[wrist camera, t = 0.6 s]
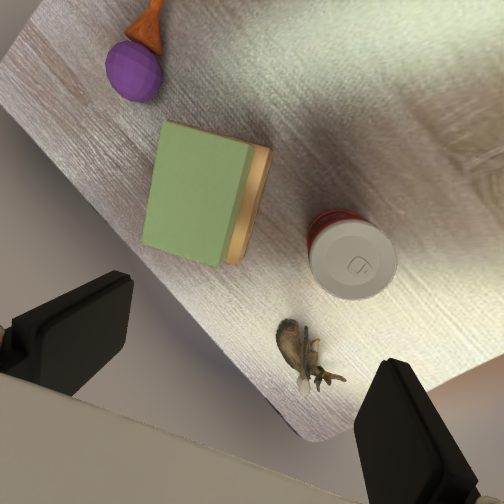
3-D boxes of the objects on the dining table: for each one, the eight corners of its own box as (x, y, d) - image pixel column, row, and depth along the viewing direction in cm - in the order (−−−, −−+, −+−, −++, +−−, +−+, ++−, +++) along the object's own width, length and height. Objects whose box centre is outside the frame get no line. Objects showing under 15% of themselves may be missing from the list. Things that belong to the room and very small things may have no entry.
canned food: (355, 276, 37) (376, 313, 27) (297, 255, 38) (296, 283, 27) (380, 221, 35) (414, 238, 25) (319, 200, 36) (327, 208, 25)
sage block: (178, 127, 32) (162, 119, 28) (255, 149, 31) (249, 144, 27) (158, 236, 35) (140, 243, 31) (226, 258, 34) (217, 268, 31)
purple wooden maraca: (209, -108, 27) (142, 103, 31) (215, -57, 33) (158, 115, 37) (149, -144, 26) (88, 78, 30) (165, -85, 32) (112, 94, 36)
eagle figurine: (353, 354, 39) (314, 311, 36) (340, 405, 34) (294, 359, 32) (311, 355, 44) (274, 318, 42) (295, 399, 40) (253, 360, 38)
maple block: (184, 127, 36) (167, 119, 32) (274, 152, 35) (270, 148, 31) (164, 230, 40) (146, 236, 35) (244, 255, 39) (237, 266, 34)
